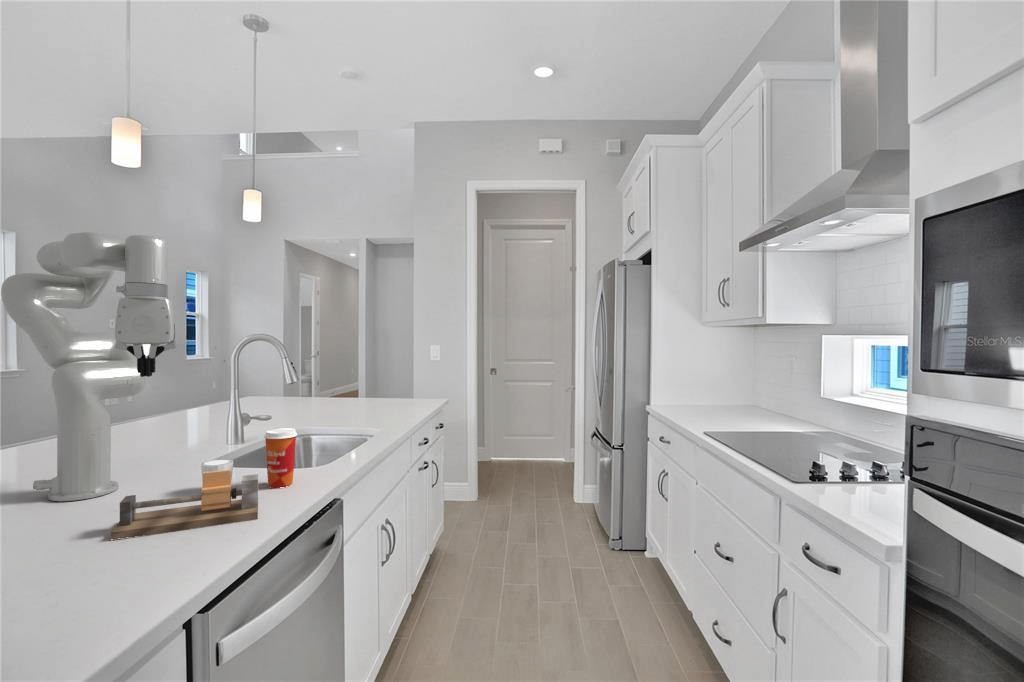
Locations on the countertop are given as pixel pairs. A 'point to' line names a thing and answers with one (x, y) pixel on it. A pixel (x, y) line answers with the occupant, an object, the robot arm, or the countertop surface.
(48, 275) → the robot arm
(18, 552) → the countertop surface
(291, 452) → the paper cup
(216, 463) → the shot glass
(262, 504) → the countertop surface
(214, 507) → the orange sliding block
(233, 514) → the wooden slider rail
